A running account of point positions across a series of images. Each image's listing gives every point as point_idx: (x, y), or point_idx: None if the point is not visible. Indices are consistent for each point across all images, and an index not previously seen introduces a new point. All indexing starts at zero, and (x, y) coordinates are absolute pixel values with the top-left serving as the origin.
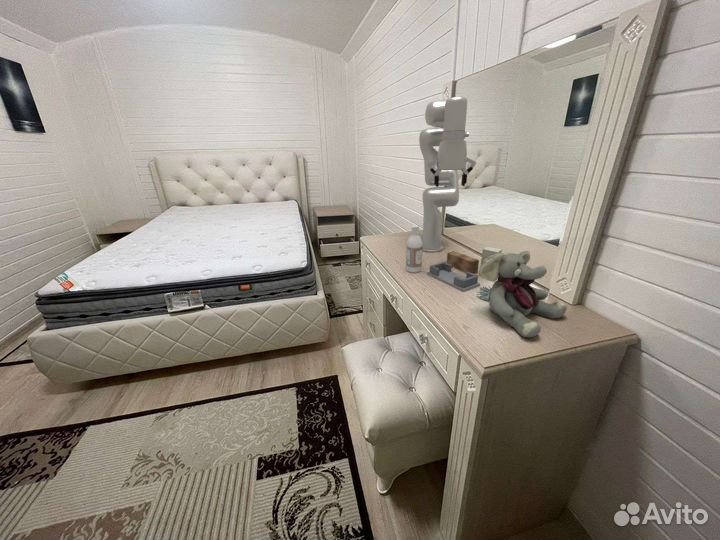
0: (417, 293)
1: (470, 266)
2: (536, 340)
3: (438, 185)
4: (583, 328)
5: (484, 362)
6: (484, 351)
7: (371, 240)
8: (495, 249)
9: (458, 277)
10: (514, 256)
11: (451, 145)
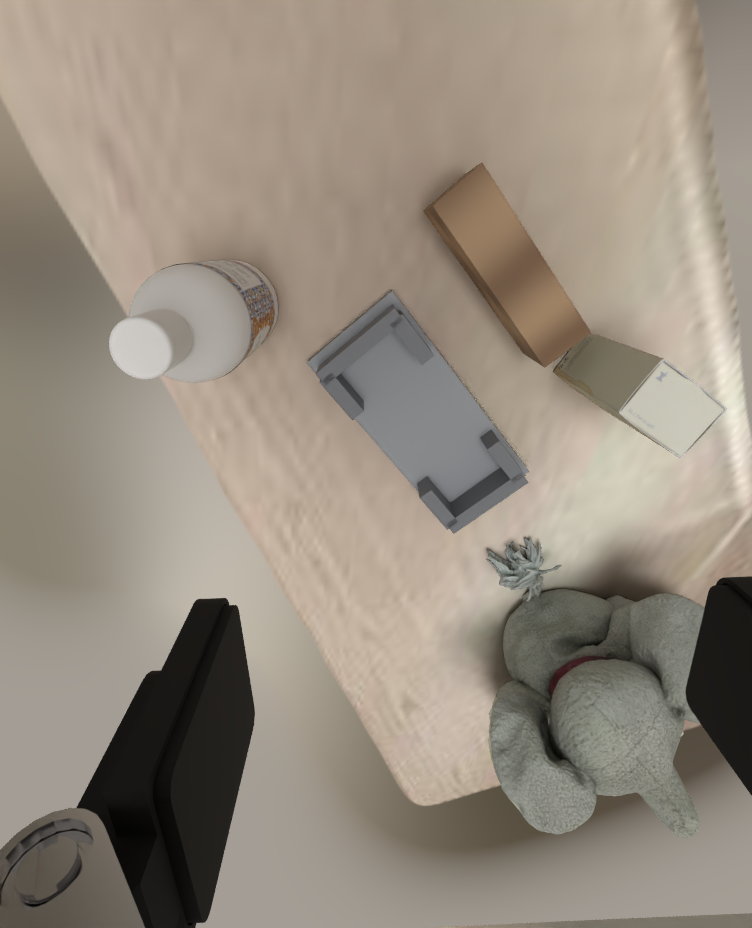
0: (270, 545)
1: (530, 354)
2: None
3: (250, 734)
4: None
5: (421, 800)
6: (431, 774)
7: None
8: (688, 415)
9: (438, 500)
10: (634, 791)
11: None
